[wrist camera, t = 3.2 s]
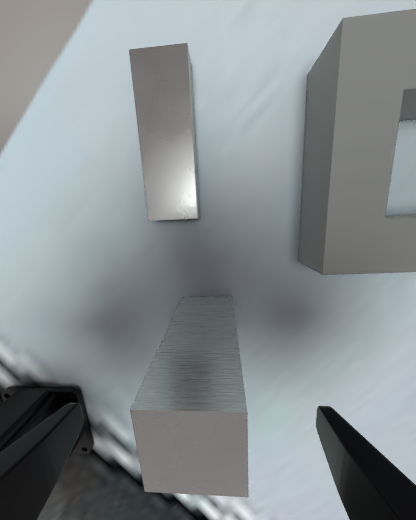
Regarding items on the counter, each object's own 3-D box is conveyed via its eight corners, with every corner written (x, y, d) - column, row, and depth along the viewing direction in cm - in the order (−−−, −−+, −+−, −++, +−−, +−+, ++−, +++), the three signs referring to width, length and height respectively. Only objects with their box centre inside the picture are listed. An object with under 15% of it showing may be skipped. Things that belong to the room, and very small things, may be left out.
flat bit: (200, 218, 13) (197, 218, 11) (158, 220, 13) (148, 220, 11) (192, 71, 11) (187, 43, 9) (143, 76, 11) (129, 49, 9)
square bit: (233, 339, 14) (248, 497, 6) (186, 340, 14) (145, 491, 6) (231, 296, 13) (247, 411, 5) (182, 297, 13) (129, 409, 6)
